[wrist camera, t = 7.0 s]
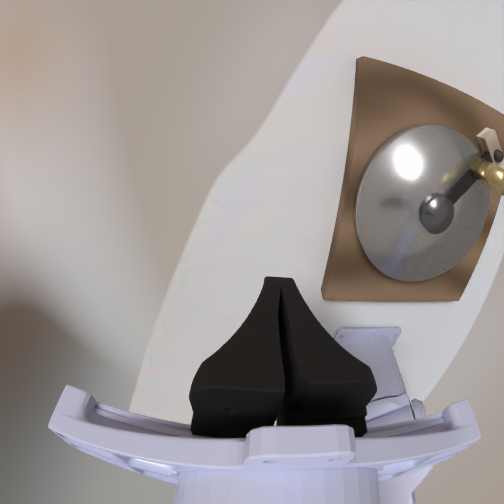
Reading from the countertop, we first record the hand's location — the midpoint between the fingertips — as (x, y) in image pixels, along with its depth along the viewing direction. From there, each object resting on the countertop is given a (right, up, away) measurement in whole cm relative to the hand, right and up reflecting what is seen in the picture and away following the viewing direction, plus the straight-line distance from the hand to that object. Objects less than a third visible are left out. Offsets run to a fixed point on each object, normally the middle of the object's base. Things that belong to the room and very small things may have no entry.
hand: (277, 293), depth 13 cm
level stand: (+14, +7, +6) cm, 16 cm away
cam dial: (+13, +6, +5) cm, 15 cm away
